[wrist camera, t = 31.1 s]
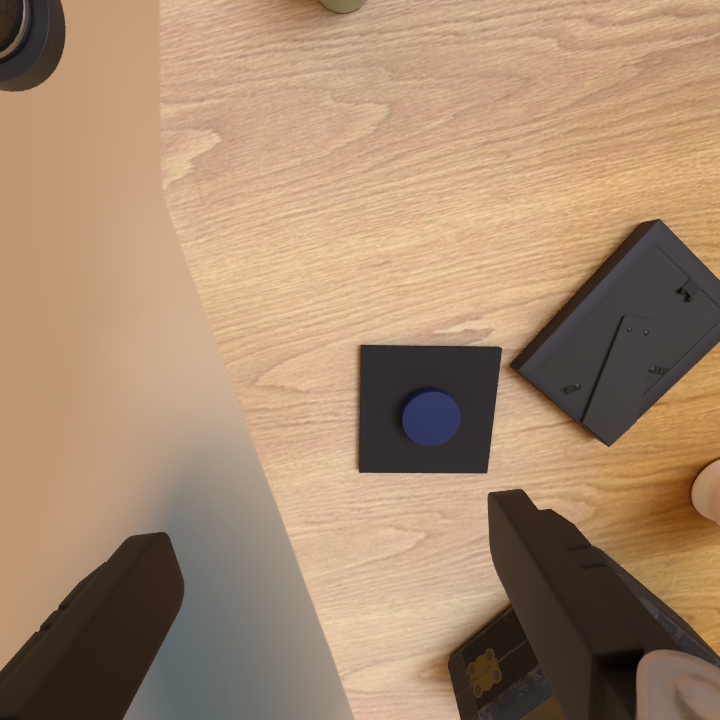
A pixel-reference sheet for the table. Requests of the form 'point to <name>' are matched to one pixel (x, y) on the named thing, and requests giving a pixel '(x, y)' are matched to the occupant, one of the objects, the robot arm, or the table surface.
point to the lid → (430, 416)
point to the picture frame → (627, 333)
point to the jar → (708, 492)
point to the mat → (418, 370)
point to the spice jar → (342, 5)
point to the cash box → (521, 667)
